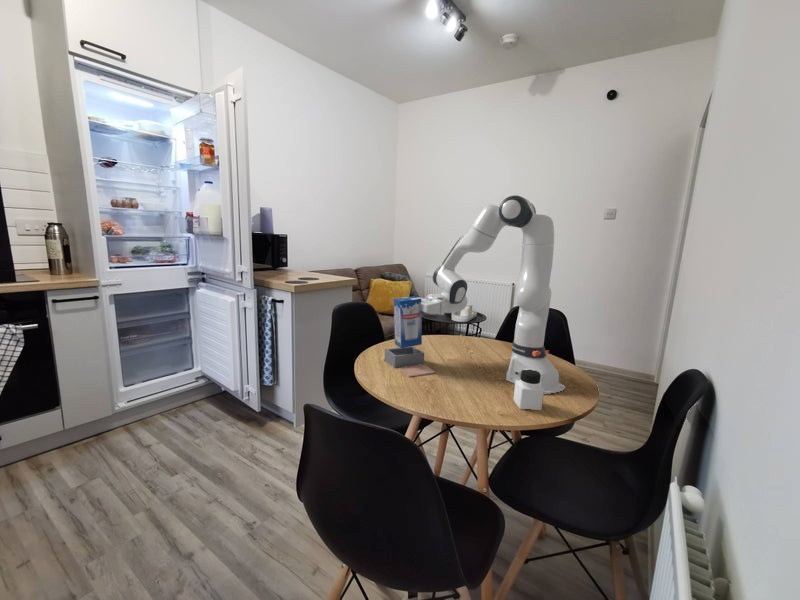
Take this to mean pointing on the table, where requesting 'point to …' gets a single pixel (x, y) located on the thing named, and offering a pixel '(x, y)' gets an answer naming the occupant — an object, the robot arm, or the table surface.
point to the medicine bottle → (529, 390)
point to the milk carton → (407, 322)
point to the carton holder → (404, 356)
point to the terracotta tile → (416, 370)
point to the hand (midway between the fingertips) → (405, 305)
